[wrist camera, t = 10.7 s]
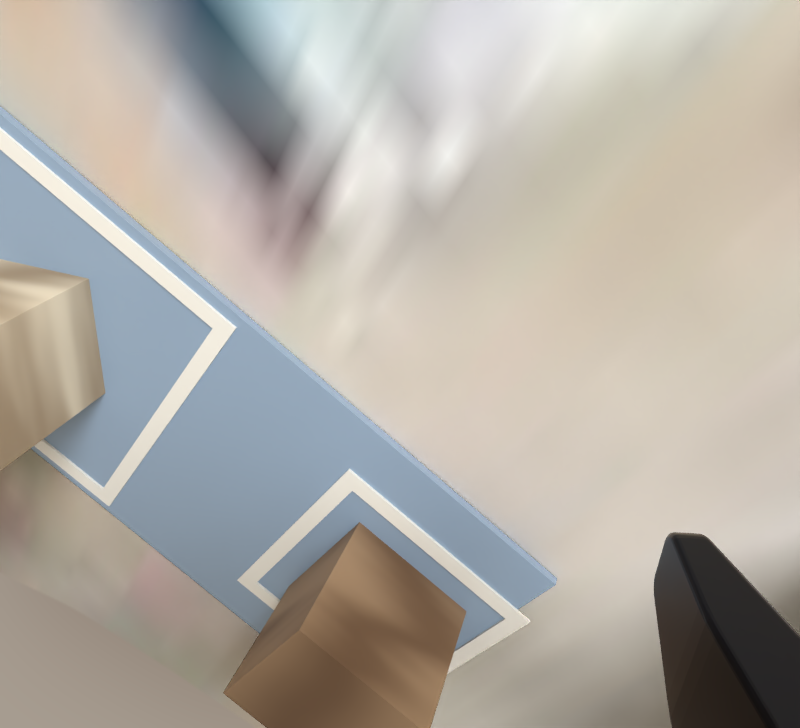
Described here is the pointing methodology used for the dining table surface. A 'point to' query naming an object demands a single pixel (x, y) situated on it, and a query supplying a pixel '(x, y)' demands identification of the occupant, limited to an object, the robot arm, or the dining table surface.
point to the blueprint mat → (234, 426)
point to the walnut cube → (352, 644)
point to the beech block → (44, 354)
